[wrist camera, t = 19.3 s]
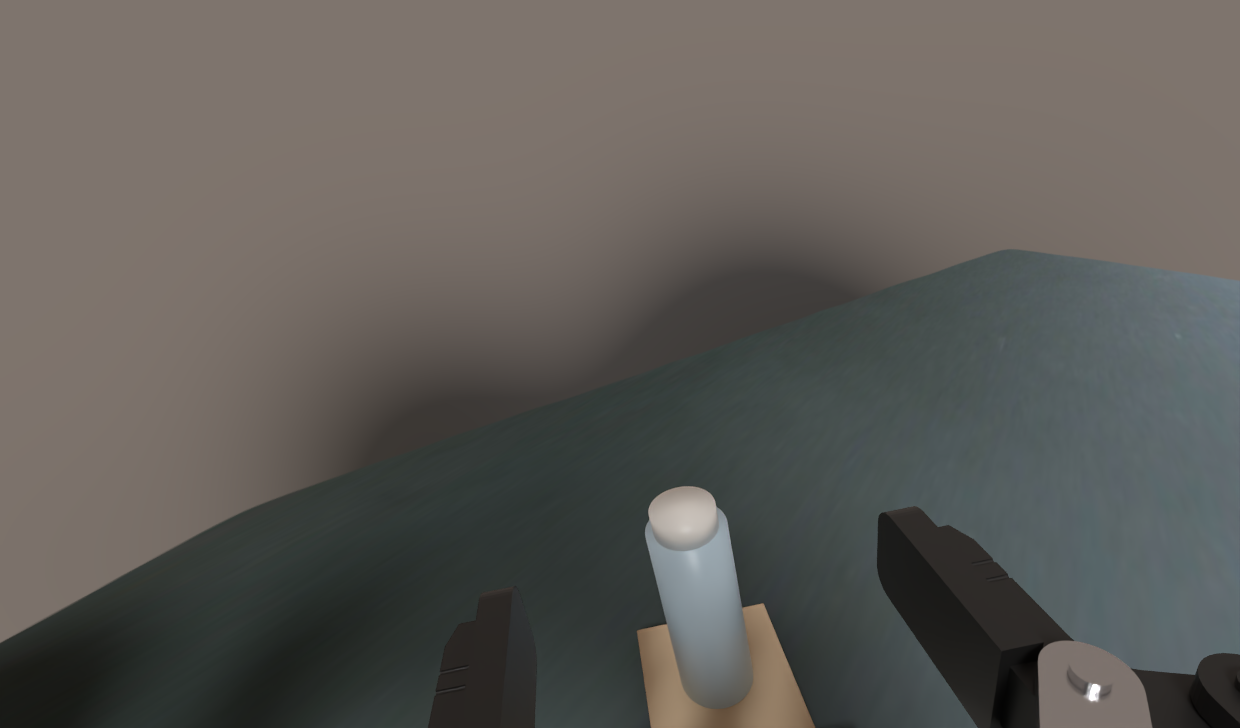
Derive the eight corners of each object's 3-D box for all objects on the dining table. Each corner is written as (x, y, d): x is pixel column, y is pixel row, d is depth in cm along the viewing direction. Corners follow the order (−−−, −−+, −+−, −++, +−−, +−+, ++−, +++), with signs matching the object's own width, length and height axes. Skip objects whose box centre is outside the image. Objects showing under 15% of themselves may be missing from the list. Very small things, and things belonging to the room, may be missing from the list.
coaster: (658, 772, 36) (656, 762, 35) (639, 639, 45) (636, 630, 45) (816, 738, 36) (815, 727, 35) (764, 612, 45) (763, 603, 45)
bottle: (688, 716, 38) (645, 545, 32) (675, 651, 42) (635, 491, 36) (763, 699, 38) (733, 525, 32) (741, 636, 42) (712, 474, 36)
